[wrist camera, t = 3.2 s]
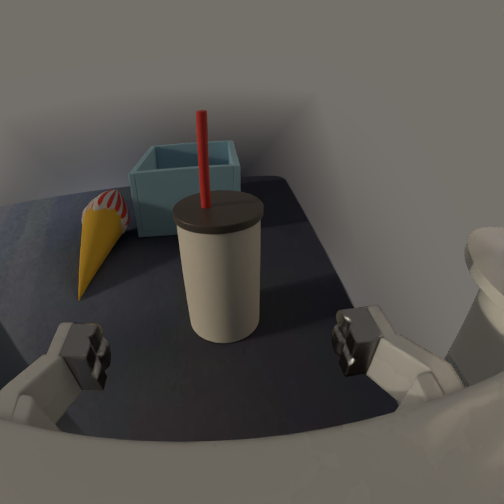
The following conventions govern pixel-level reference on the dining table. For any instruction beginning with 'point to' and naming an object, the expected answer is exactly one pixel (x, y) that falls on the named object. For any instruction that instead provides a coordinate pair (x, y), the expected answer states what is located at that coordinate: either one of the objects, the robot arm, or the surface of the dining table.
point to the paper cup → (219, 254)
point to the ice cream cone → (100, 233)
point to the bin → (177, 181)
